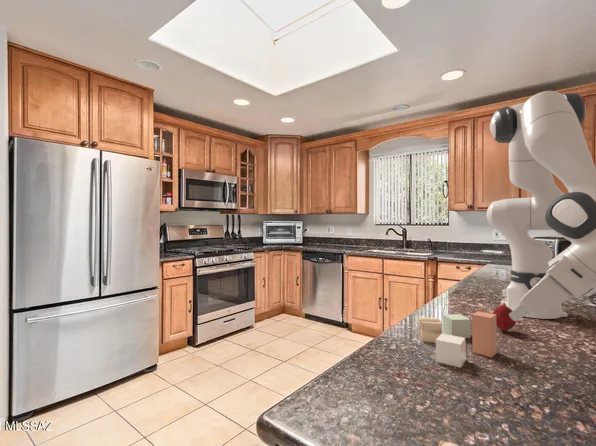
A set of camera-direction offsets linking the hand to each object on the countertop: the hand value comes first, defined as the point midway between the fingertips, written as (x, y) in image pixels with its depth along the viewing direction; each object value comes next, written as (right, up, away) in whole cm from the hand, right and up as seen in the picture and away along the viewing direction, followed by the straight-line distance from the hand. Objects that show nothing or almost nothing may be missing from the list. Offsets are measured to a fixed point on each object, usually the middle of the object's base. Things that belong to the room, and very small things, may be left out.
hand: (517, 313), depth 71 cm
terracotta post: (-4, -11, +5) cm, 12 cm away
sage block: (-5, -11, +17) cm, 21 cm away
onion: (+10, -11, +19) cm, 24 cm away
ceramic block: (-15, -11, +1) cm, 18 cm away
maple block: (-13, -11, +14) cm, 22 cm away
